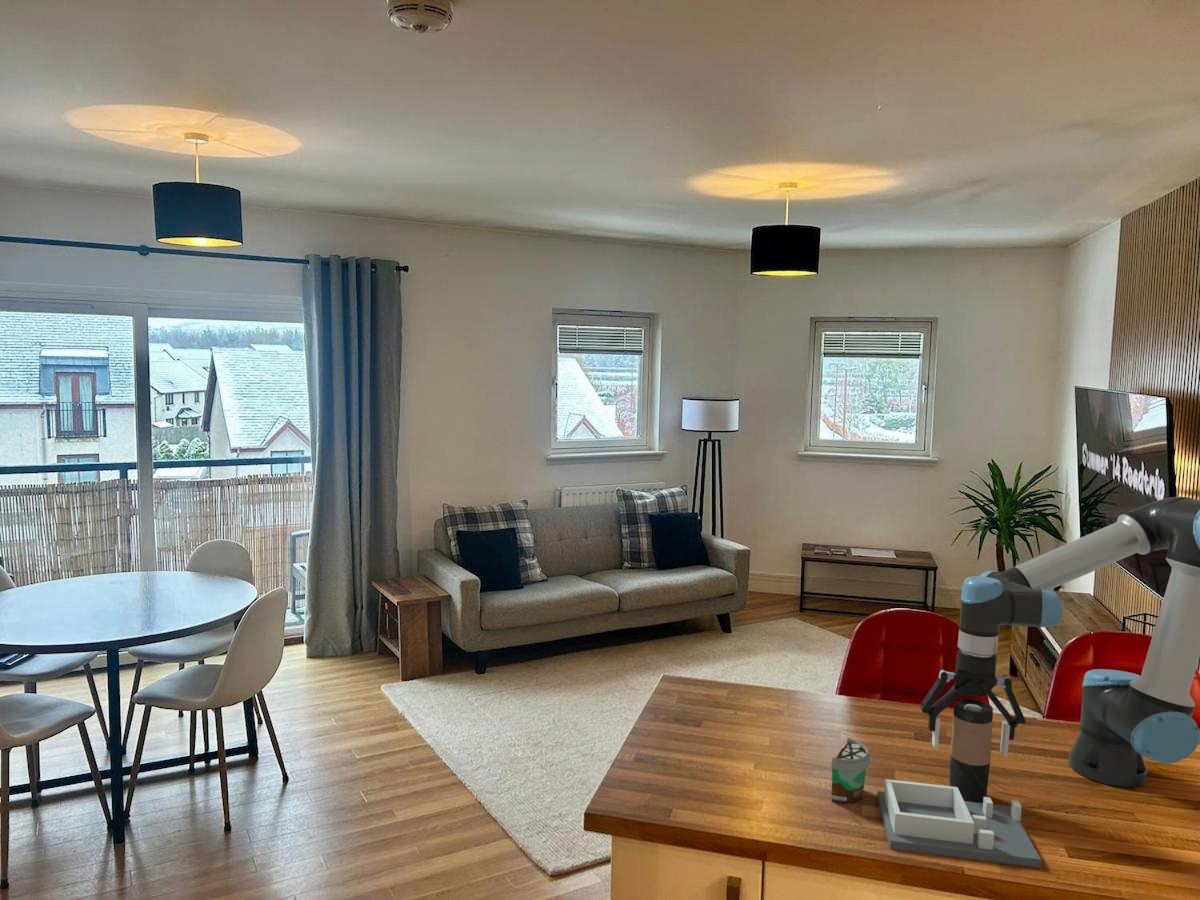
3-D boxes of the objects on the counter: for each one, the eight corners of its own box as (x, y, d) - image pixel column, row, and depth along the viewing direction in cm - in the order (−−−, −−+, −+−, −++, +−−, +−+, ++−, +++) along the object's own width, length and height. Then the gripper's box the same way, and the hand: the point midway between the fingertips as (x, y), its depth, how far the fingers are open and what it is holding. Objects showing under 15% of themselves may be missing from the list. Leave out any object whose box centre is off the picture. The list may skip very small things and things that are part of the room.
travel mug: (991, 807, 170) (998, 714, 169) (952, 803, 172) (958, 710, 170) (982, 789, 178) (988, 700, 176) (944, 785, 179) (950, 696, 178)
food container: (859, 814, 167) (862, 766, 166) (829, 805, 170) (831, 758, 169) (874, 788, 177) (877, 744, 176) (846, 780, 181) (848, 736, 180)
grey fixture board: (1010, 814, 168) (1011, 806, 168) (1040, 868, 150) (1041, 859, 149) (877, 798, 173) (877, 791, 173) (890, 848, 155) (890, 840, 155)
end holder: (956, 805, 168) (957, 787, 167) (972, 843, 154) (974, 823, 154) (884, 797, 170) (885, 778, 170) (894, 834, 157) (895, 814, 156)
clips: (1016, 815, 165) (1017, 800, 164) (1040, 855, 151) (1041, 840, 150) (961, 808, 167) (962, 794, 167) (979, 848, 153) (980, 832, 152)
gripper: (1036, 651, 173) (1027, 749, 175) (910, 640, 178) (903, 734, 180) (1047, 663, 166) (1038, 765, 168) (916, 651, 171) (909, 749, 173)
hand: (969, 749), depth 174 cm, fingers open, 13 cm apart
